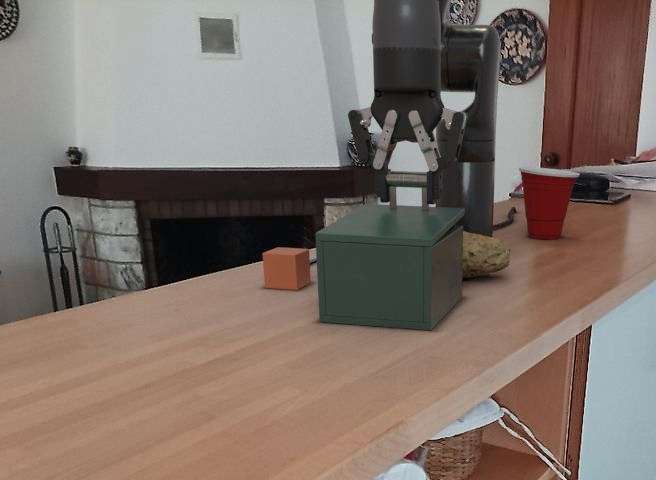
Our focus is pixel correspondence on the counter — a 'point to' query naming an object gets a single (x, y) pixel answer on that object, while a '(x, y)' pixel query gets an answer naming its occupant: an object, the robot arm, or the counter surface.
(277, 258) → the block
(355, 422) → the counter surface
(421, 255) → the box
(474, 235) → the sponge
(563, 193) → the plastic cup
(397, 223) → the lid
